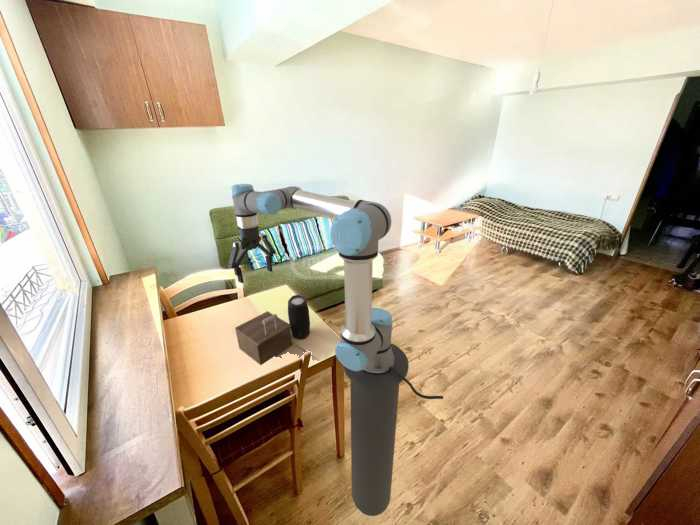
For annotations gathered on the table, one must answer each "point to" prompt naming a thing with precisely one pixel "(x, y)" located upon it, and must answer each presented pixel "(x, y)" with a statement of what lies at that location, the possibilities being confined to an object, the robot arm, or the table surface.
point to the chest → (265, 346)
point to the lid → (263, 328)
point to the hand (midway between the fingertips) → (256, 276)
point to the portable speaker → (299, 316)
